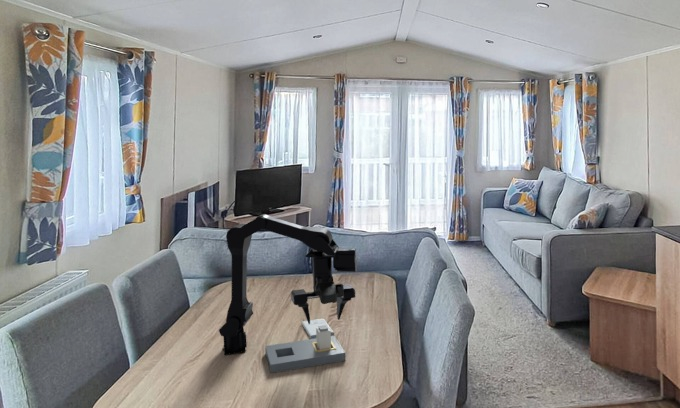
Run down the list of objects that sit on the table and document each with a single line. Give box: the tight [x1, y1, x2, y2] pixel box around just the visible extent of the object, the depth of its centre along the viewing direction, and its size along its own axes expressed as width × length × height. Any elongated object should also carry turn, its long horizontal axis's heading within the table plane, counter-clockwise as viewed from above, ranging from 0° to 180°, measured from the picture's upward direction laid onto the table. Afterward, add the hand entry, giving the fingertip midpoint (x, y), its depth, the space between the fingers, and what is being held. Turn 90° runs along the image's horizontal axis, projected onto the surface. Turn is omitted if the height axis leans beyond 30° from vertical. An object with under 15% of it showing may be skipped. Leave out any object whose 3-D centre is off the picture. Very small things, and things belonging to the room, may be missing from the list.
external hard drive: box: [301, 318, 335, 339], centre depth 148 cm, size 2×8×12 cm
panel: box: [264, 335, 346, 374], centre depth 129 cm, size 22×12×3 cm, turn 107°
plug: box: [316, 325, 331, 350], centre depth 130 cm, size 4×4×9 cm
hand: (323, 321), depth 129 cm, fingers open, 9 cm apart
